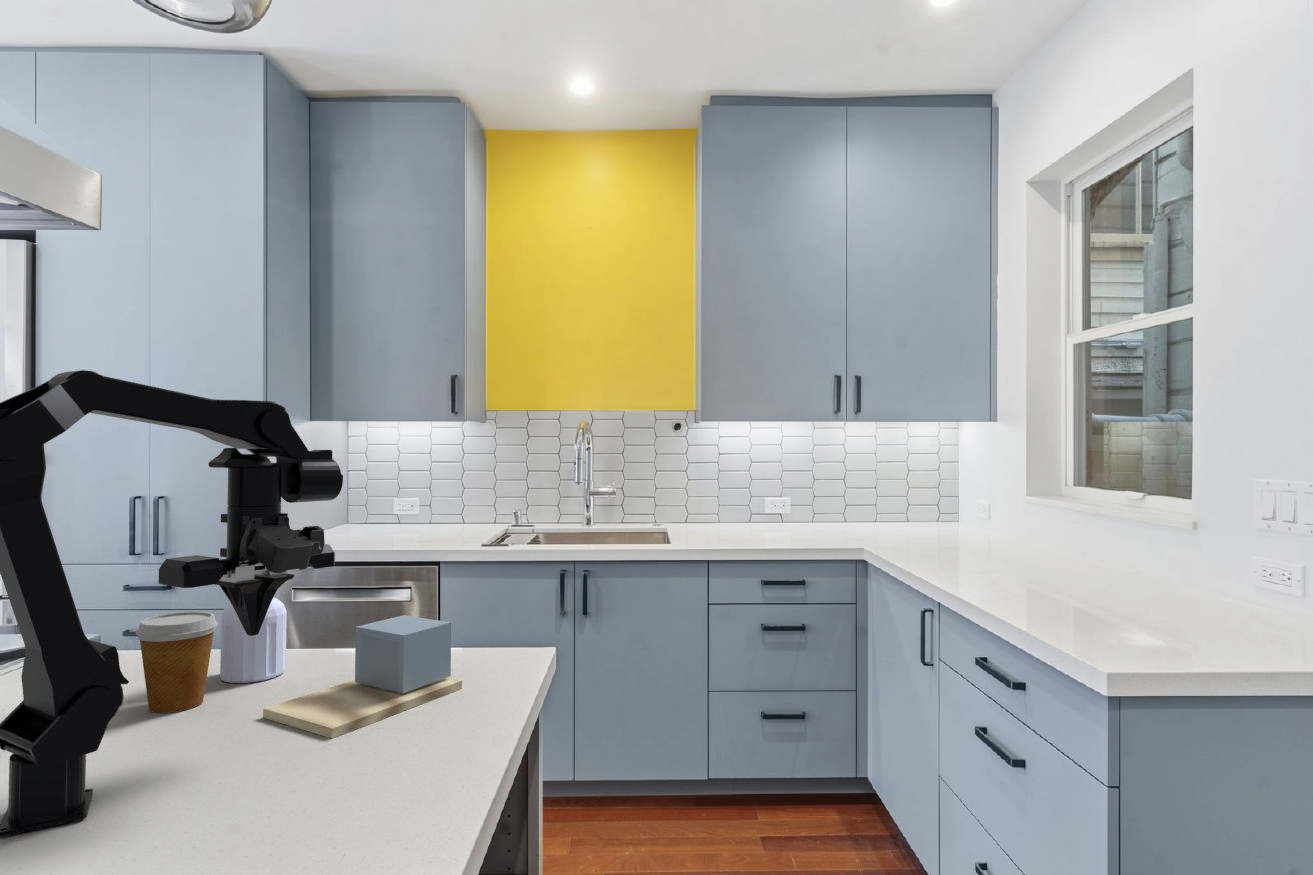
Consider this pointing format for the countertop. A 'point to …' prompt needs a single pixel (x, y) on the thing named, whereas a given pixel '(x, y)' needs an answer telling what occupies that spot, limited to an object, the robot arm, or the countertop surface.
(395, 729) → the countertop surface
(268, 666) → the soap bottle
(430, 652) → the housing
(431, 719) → the countertop surface
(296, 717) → the flat panel
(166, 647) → the disposable coffee cup
